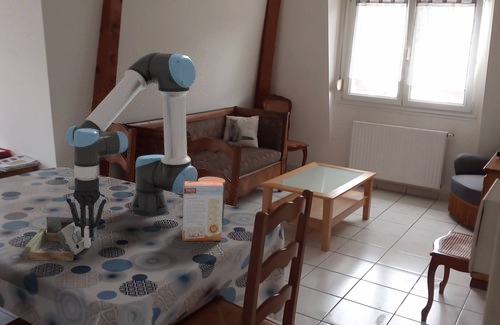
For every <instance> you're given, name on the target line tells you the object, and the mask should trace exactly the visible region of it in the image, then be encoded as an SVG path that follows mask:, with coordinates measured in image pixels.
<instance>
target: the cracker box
mask: <svg viewBox="0 0 500 325" xmlns="http://www.w3.org/2000/svg"><path fill="white" fill-rule="evenodd" d="M222 209H223V184H222V182H198V181H196V182H190V181H184V184H183V194H182V222H181V223H182V232H181V233H182V234H181V235H182V241H183V242H190V241H191V242H193V241H194V242H196V241H197V242H198V241H199V242H200V241H201V242H202V241H204V242H205V241H209V242H211V241H218V242H219V241H222V230H223V229H222V228H223V227H222V226H223V224H222Z"/></svg>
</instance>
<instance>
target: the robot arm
mask: <svg viewBox="0 0 500 325" xmlns="http://www.w3.org/2000/svg"><path fill="white" fill-rule="evenodd" d="M196 73H197V72H196V66H195V64H194V62H193V60H191V58H190V57H189V56H188V55H185V54H184V55H183V54H180V53H169V52H165V53H164V52H155V51H154V52H150V53H146V54H144V55H143V56H141V57H140V58H138V59H137V60H135V62H133V63H132V64H131V65H130V66H129V67H128V68H126V70H125V71H124V76H123V78H122V79H121V80H120V81H119V82H118V83H117V84H115V86H114V88H113V89H112V90H111V91H110V92H109V93H108V94H107V95H106V96H105V97H104V99H103V100H102V101H101V102H100V103H99V104H98V105H97V106H96V107H95V109H94V110H93V111H91V113H90V114H89V116H87V117H86V118H85V119H84V120H83V121H82V123H81V124H80V125H72V126H70V127H69V128H68V129H67V131H66V134H65V139H66V142H67V144H68V145H69V146H71V147H73V162H74V163H73V166H74V171H73V172H74V175H73V176H74V177H75V178H74V192H73V193H72V195H71V196H68V197H67V198H66V199H65V202H66V203H67V204H68V206H69V209H70V214H72V217H73V220H74V224H75V226H76V227H80V228H81V237H84V248H85V249H89V248H90V247H91V244H92V242H91V241H92V240H91V238H92V237H93V235H94V227H97V228H98V227H99V226H100V223H101V219H102V214H103V212H104V211H103V210H104V207H105V204H106V203H107V202H108V198H107V197H104V196H102V194H101V192H100V178H99V176H100V158H103V157H107V156H113V155H118V154H122V153H125V152H126V151H127V149H128V147H129V139H128V138H129V137H128V136H127V135H126V134H125V133H124V132H123V131H119V130H118V131H117V130H114V131H107V129H108V128H109V127H110V126H111V124H112V123H113V122H114V121H115V119H117V117H118V116H119V115H121V113H122V111H124V110H125V108H126V107H127V106H128V105H129V103H131V102H132V101H133V99H134V98H135V97H136V96H137V94H138V93H140V91H143V90H146V89H147V87H149V86H150V85H152V84H153V85H154V84H156V85H157V87H158V89H157V90H158V92H159V93H160V94H161V96H162V116H163V139H164V140H163V144H164V154H148V155H146V154H145V155H141V156H138V157H137V158H136V161H135V168H134V169H135V171H134V173H135V179H134V180H135V192H134V196H133V198H132V201H131V202H130V211H131V212H132V213H133V214H136V215H139V216H157V215H158V216H159V215H162V214H165V213H167V212H168V210H169V204H168V201H167V198H166V194H165V191H167V192H171V193H174V194H179V195H183V184H184V181H190V182H197V181H198V171H197V169H196V167H194V166H193V165H192V160H191V157H190V156H189V155H188V153H187V152H188V151H187V150H188V146H187V105H186V104H187V103H186V102H187V101H186V100H187V99H186V98H187V97H186V96H187V94H188V93H189V92H190V87H191V86H193V85H194V83H195V80H196V76H197V74H196ZM97 201H98V203H99V206H98V210H97V212H96V213H97V214H96V215H97V216H96V220H95V223H94V215H95V208H94V207H95V204H96V203H97ZM76 202H77V203H78V204H79V212H78V209H77V206H76ZM87 210H88V211H87ZM87 212H88V216H89V226H86V214H87ZM78 214H80V219H79V216H78Z"/></svg>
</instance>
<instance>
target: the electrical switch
mask: <svg viewBox="0 0 500 325" xmlns="http://www.w3.org/2000/svg"><path fill="white" fill-rule="evenodd" d="M57 236H58V238H59V241H58V242H59V243H60V244H61V247H62V249H63V251H74V256H76V255H78V254H79V253H80V252H82V251H84V250H85V249H86V248H84V237H81V228H80V227H76V226H75V224H74V222H73V223H71V224H70V225H68V226H66V227H65V228H63V229H62V231H60V232H58V233H57Z"/></svg>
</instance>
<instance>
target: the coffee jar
mask: <svg viewBox="0 0 500 325" xmlns="http://www.w3.org/2000/svg"><path fill="white" fill-rule="evenodd" d="M197 182H222V184H223V209H222V225H223V224H224V216H225V214H224V213H225V199H226V198H225V196H226V195H225V194H226V187H225V185H226V180H225V179H224V178H222V177H219V176H203V177H199V178H197Z"/></svg>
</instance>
